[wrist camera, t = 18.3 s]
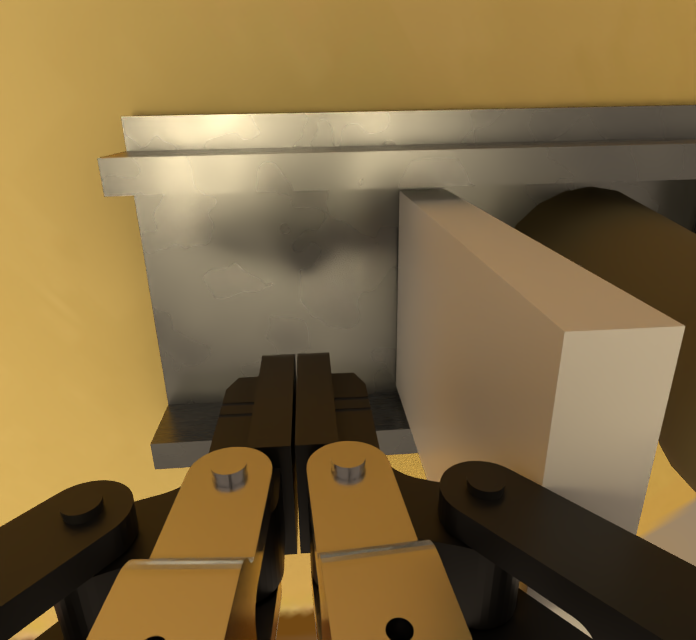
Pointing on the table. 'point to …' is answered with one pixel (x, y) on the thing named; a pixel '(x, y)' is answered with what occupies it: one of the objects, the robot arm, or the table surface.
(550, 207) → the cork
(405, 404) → the panel
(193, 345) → the grey metal tray
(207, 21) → the table surface
